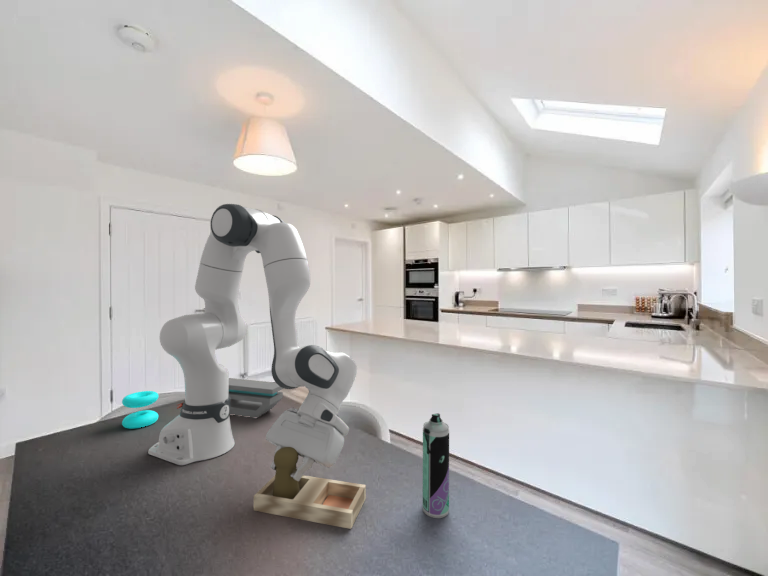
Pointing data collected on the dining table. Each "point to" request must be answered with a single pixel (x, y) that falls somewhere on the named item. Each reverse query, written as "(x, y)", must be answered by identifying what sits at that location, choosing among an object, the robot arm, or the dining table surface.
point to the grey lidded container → (253, 396)
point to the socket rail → (315, 501)
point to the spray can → (436, 467)
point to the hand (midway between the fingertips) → (283, 474)
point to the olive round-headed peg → (285, 473)
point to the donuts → (140, 417)
